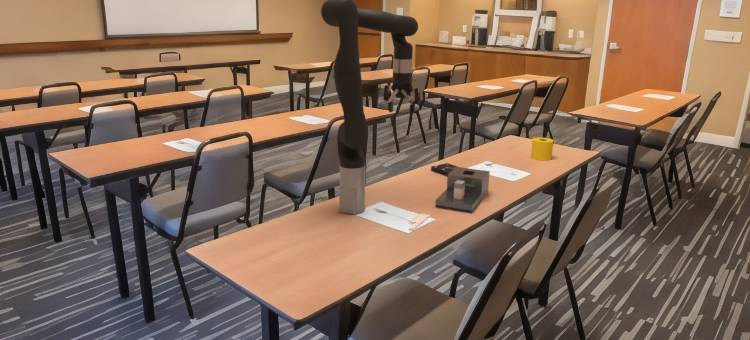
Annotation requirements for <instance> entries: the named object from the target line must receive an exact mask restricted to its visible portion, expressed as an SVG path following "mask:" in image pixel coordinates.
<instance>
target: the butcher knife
mask: <svg viewBox="0 0 750 340" xmlns="http://www.w3.org/2000/svg"><path fill="white" fill-rule="evenodd" d="M430 216H431V215H430V214H427V213H418V214H416V216H414V217H413V218H414V219H413V218H412V219H413V220H412V219H410V221H408V223H407V224H411V223H412V224H411V225H412V226H411V227H409V228H408V230H409V231H415V230H416V229H417V228H418V227H420V226H421V225H422V224H423V223H424V222H425V221H427V220H428V219H429V218H430ZM427 218H428V219H427ZM413 224H414V225H413ZM420 224H421V225H420ZM414 229H415V230H414Z"/></svg>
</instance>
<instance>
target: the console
mask: <svg viewBox="0 0 750 340" xmlns="http://www.w3.org/2000/svg"><path fill="white" fill-rule="evenodd" d="M490 172H491V171H490V170H483V169H474V168H467V167H460V166H457V167H455V168H454V169H453V170H452V171H451V172H450V173H449V174H448V176H447V177H446V178H447V179H446V188H445V190H444V191H443V192H442V193H441V194H440V195H438V197H437V198H436V199H435V208H437V209H444V210H451V211H454V212H455V211H456V212H461V213H468V214H472V213H473V212H474V211H475V210H476V208H477V207H478V206H479V205H480V203H481V202H482V201H483V200H484V198H485V197H486V195H488V193H489V184H490V183H489V182H490ZM457 180H461V181H465V189H464V199H463V200H460V199H454V183H455V182H456V181H457Z"/></svg>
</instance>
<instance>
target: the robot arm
mask: <svg viewBox="0 0 750 340" xmlns="http://www.w3.org/2000/svg"><path fill="white" fill-rule="evenodd" d="M320 14H321V18H322V20H323V21H324V23H326V24H327V25H329V26H331V27H335V28H336V27H338V33H339V47H338V49H337V53H336V56H335V59H334V63H333V79H334V86H335V91H336V93H337V97H338V99H339V103H340V106H341V109H342V112H343V113H342V114H343V121H342V123H340V125H339V127H338V130H337V134H336V135H337V138H336V139H337V141H336V142H337V155H338V156H337V157H338V160H339V191H338V192H339V193H338V194H339V195H338V196H339V197H338V198H339V213H343V214H349V215H356V214H360V213H363V212H364V211H365V210H366V158H365V155H364V152H363V148H364V147H365V146H366V144H367V142H368V139H369V131H368V128H367V121H366V115H365V112H364V98H363V97H364V95H363V86H362V85H363V82H362V71H361V63H360V50H359V49H360V48H359V28H363V29H367V30H373V31H376V32H381V33H389V34H390V35H391V40H392V44H393V62H392V81H391V82H392V83H391V84H392V85H390V84H386V85H384V87H383V88H384V89H383V90H384V91H383V101H385V102H387V110H388V112H389V113H393V112H394V101H395V99H396V98H402V99H406V100H407V101H408V102H409V115H410V116H411V115H413V114H415V112H416V111H415V110H416V108H415V107H416V105H417V104H419V103H421V88H420V87H417V86H416V87H413V73H414V72H413V71H414V67H413V66H414V65H413V54H414V53H413V51H414V50H413V49H414V48H413V45H412V44H411V42H408V41H407V39H406V37H412V36H414V35H416V34H417V32H418V29H419V23H418V21H417V19H416V18H414V17H412V16H409V15H404V14H403V15H400V14H394V13H391V12H387V11H384V10H378V9H368V8H359V7H357V4H356V2H355V1H354V0H325V2H324V3H323V4H322V6H321V10H320ZM390 91H392V94H391V95H390ZM412 92H413V94H414V96H413V95H412Z"/></svg>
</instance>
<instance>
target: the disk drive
mask: <svg viewBox="0 0 750 340" xmlns="http://www.w3.org/2000/svg"><path fill="white" fill-rule="evenodd" d="M455 167H458V166H456V165H455V164H451V163H449V162H446V163H442V164H437V165H431V167H430V171H431V172H433V173H436V174H439V175H441V176H443V177H446V178H447V176H448V174H449V173H450V172H451V171H452V170H453V169H454V168H455Z"/></svg>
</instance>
